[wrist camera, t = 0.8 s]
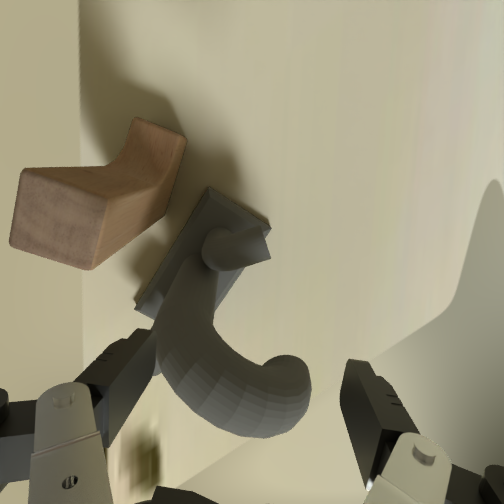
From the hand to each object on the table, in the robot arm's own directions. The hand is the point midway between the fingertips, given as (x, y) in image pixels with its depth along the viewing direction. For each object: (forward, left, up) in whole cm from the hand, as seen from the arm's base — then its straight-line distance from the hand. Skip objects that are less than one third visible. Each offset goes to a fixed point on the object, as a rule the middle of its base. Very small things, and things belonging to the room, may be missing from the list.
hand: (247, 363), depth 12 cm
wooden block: (-11, -3, -23) cm, 26 cm away
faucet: (+4, -5, -24) cm, 24 cm away
